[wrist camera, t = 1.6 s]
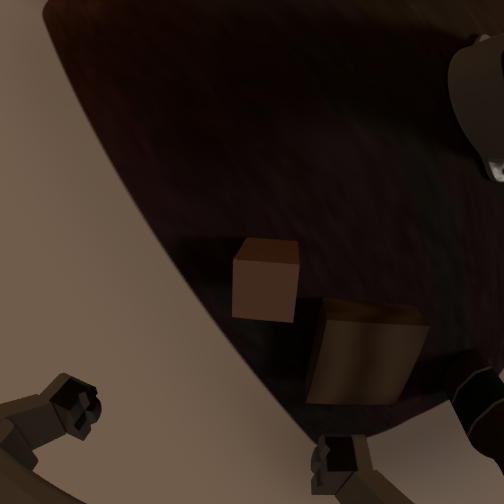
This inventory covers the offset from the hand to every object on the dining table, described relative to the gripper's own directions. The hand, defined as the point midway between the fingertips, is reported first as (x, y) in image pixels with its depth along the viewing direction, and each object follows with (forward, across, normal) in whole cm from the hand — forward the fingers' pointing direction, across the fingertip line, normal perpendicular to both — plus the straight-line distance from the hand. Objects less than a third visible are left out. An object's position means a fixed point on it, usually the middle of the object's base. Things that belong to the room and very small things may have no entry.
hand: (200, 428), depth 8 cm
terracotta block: (+22, -1, +1) cm, 22 cm away
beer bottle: (+21, -31, +13) cm, 40 cm away
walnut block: (+22, -13, +9) cm, 27 cm away
